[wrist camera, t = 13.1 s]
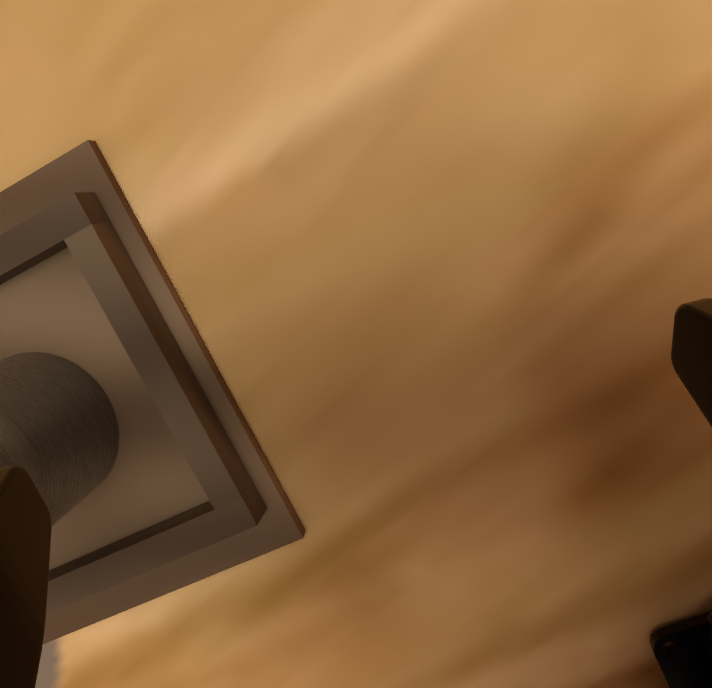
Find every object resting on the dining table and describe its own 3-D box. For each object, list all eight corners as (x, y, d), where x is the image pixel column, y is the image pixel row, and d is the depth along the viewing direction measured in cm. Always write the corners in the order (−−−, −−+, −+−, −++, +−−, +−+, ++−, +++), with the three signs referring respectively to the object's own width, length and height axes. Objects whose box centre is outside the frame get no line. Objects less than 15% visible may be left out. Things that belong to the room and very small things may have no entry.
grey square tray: (305, 532, 23) (295, 557, 21) (14, 651, 25) (-15, 681, 24) (94, 141, 21) (65, 136, 19) (-197, 314, 23) (-243, 323, 22)
